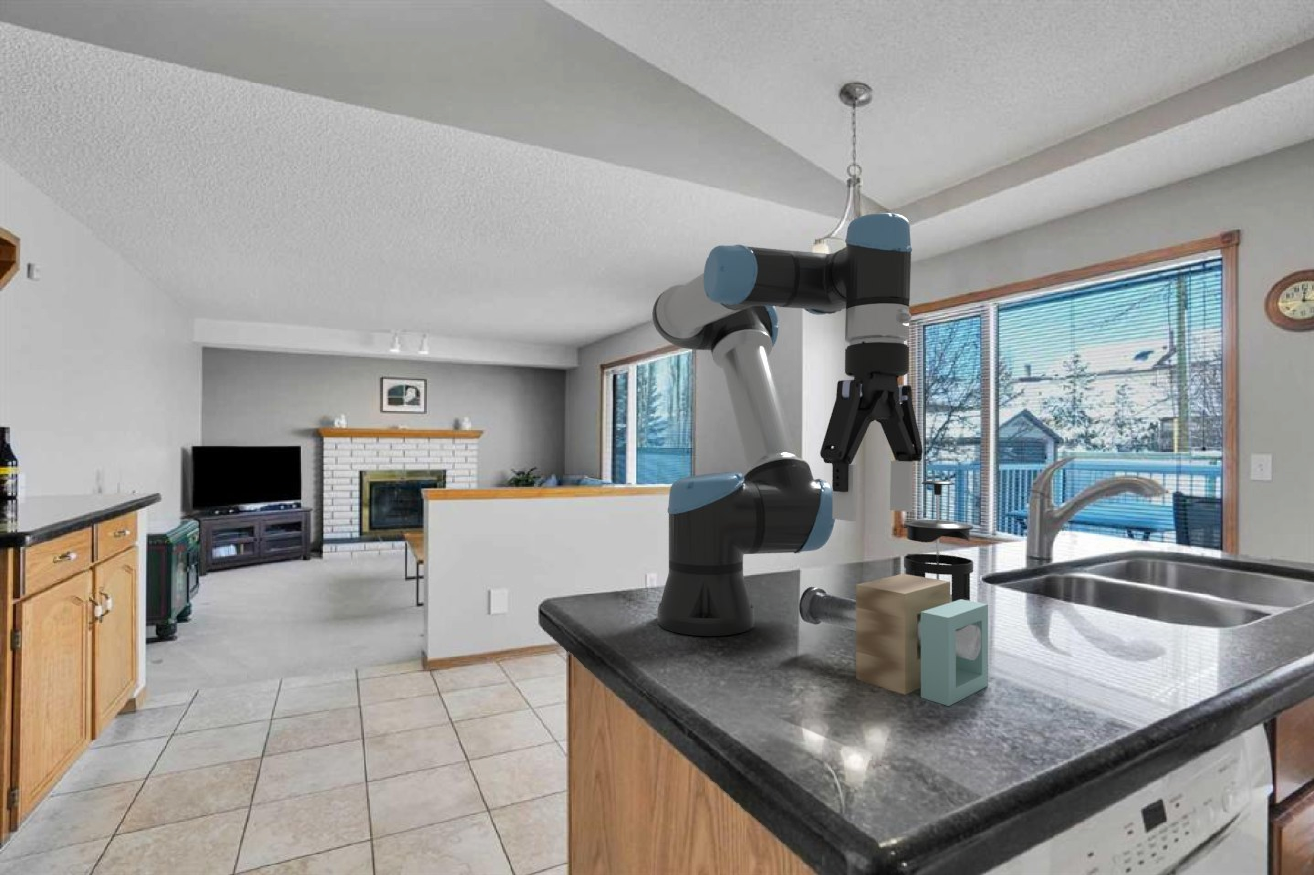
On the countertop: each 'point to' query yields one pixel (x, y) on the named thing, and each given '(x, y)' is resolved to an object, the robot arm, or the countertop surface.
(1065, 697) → the countertop surface
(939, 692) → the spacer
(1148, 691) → the countertop surface
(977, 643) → the shaft
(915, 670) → the housing
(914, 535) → the french press
